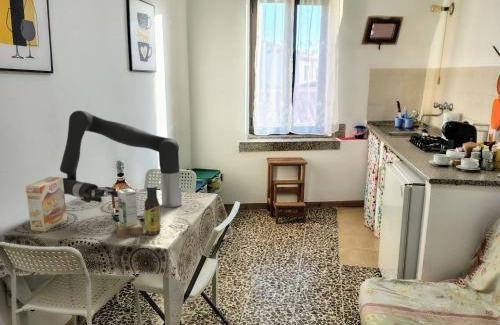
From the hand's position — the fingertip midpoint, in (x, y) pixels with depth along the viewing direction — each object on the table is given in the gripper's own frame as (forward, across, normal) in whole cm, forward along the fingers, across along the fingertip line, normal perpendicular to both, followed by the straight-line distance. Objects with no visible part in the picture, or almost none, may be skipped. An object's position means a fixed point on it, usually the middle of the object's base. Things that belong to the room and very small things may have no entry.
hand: (109, 197), depth 159 cm
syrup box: (+11, 0, +10) cm, 15 cm away
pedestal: (+11, 0, +13) cm, 17 cm away
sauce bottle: (+20, +4, +13) cm, 25 cm away
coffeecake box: (-24, -13, +13) cm, 31 cm away
